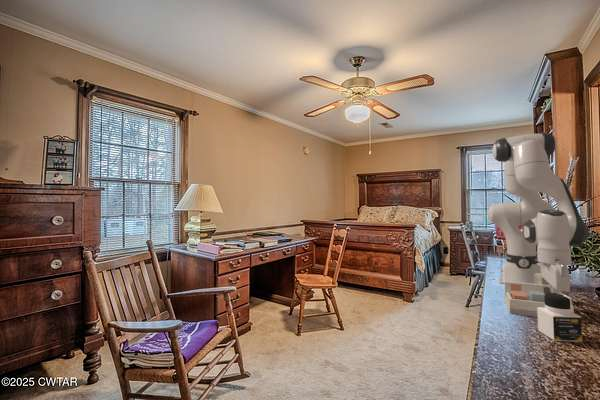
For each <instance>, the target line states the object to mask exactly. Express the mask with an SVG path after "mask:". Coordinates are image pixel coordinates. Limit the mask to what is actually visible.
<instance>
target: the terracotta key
mask: <svg viewBox="0 0 600 400" xmlns="http://www.w3.org/2000/svg"><path fill="white" fill-rule="evenodd" d="M512 298H513V299H518V300H527V301H528V299H527V295H526V294H525V293H521V292H512Z"/></svg>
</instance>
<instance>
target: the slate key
mask: <svg viewBox="0 0 600 400" xmlns="http://www.w3.org/2000/svg"><path fill="white" fill-rule="evenodd" d="M544 295H545V294H544V293H543V292H540V291H530V290H529V298H530V299H531V301H536V302H544Z"/></svg>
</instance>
